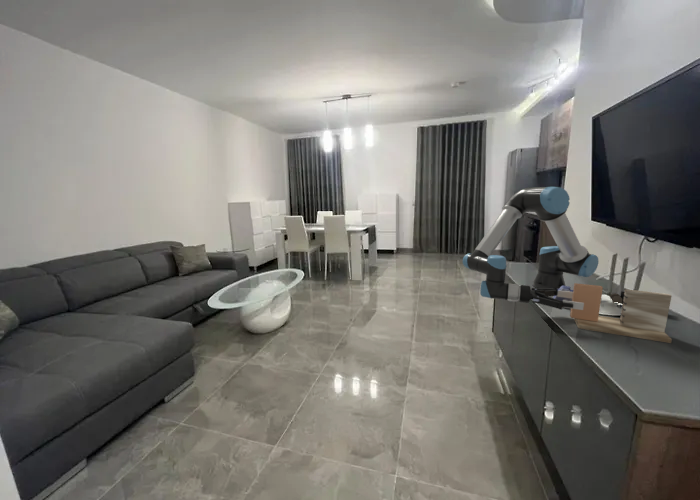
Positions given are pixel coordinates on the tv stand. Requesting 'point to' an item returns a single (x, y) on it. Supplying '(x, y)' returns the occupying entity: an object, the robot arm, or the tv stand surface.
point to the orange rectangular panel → (587, 301)
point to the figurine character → (617, 297)
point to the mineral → (564, 288)
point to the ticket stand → (636, 317)
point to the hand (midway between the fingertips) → (579, 300)
